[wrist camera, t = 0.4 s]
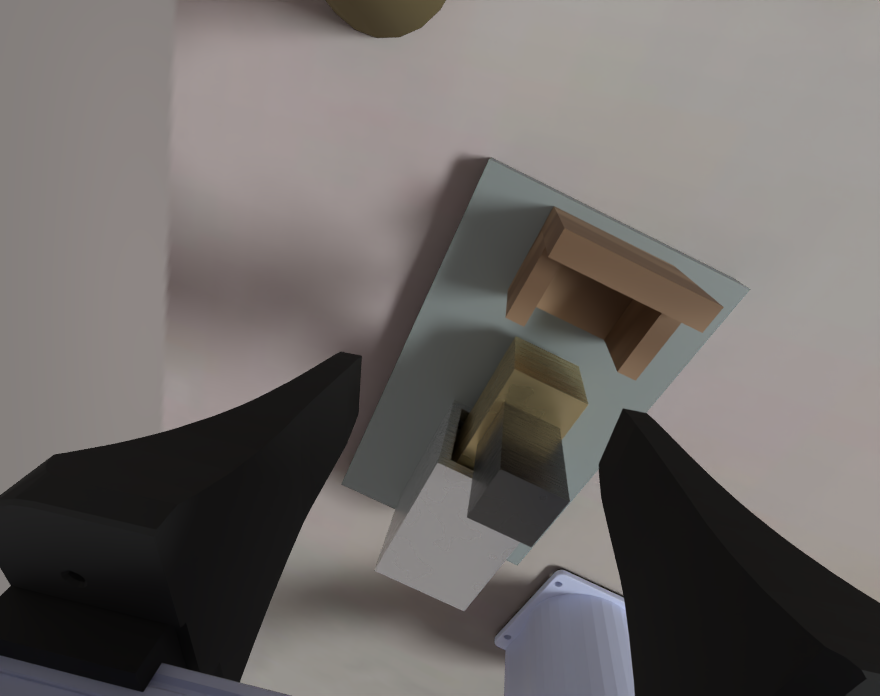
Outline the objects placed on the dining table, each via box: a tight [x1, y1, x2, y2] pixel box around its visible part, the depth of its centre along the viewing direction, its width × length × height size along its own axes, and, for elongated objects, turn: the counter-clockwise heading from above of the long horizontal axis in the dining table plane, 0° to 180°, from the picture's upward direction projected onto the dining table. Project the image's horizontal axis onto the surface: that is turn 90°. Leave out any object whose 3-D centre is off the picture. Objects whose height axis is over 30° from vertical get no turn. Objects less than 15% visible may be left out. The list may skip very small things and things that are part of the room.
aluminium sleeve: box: [374, 399, 520, 611], centre depth 22 cm, size 8×5×5 cm, turn 156°
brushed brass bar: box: [450, 336, 588, 547], centre depth 19 cm, size 12×3×7 cm, turn 156°
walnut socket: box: [505, 206, 724, 381], centre depth 17 cm, size 4×6×5 cm
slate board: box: [342, 158, 750, 565], centre depth 23 cm, size 20×12×2 cm, turn 156°
